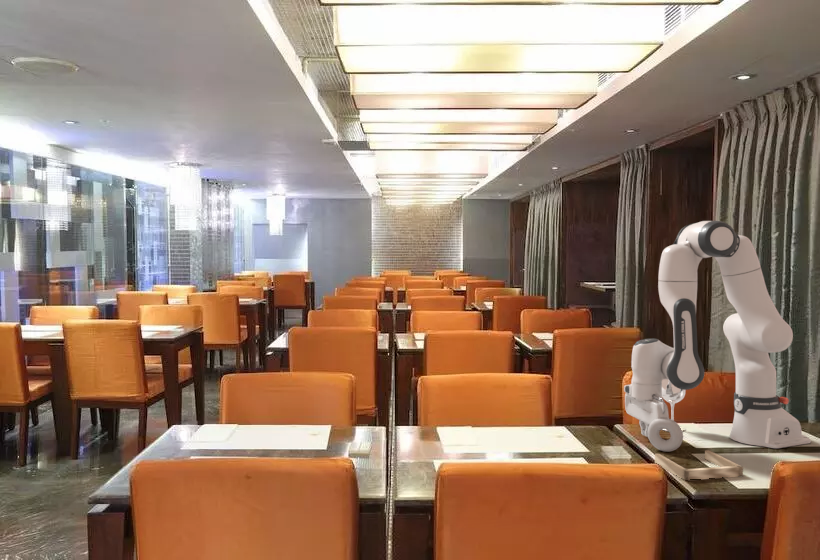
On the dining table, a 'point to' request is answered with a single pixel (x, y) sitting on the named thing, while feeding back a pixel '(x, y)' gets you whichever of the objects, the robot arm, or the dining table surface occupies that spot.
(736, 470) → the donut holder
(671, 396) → the wineglass
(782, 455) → the dining table surface
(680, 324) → the robot arm
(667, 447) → the donut
